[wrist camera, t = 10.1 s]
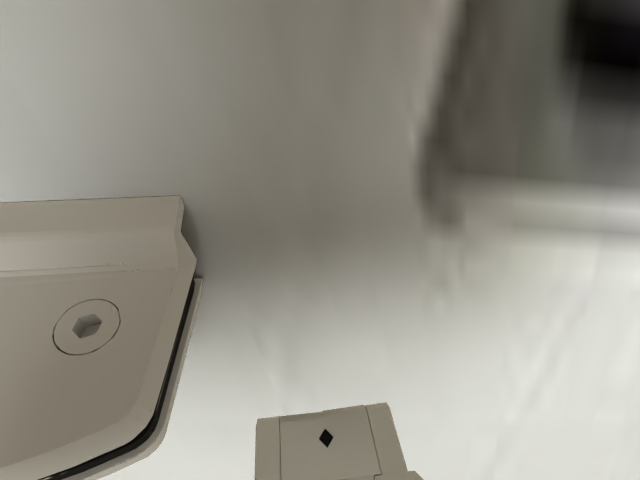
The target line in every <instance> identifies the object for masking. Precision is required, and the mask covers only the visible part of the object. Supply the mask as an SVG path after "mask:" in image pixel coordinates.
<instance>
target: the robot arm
mask: <svg viewBox="0 0 640 480" xmlns="http://www.w3.org/2000/svg"><path fill="white" fill-rule="evenodd" d="M255 480H423V479H422V478H421V477H420V476H419V475H418V474H417V473H416V472H415V471H408V470H407V467H406V463H405V460H404V456H403V453H402V449H401V446H400V443H399V439H398V436H397V432H396V429H395V425H394V422H393V418H392V415H391V411H390V408H389V406H388V404H387V403H386V402H385V403H378V404H371V405H365V406H364V405H359V406H352V407H345V408H339V409H332V410H325V411H322V412H315V413H305V414H296V415H287V416H277V417H269V418H261V419H257V424H256V446H255Z"/></svg>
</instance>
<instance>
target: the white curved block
mask: <svg viewBox="0 0 640 480" xmlns="http://www.w3.org/2000/svg"><path fill="white" fill-rule="evenodd" d="M183 213H184V204H183V201H182V198H181V196H160V197H135V198H109V199H84V200H58V201H32V202H7V203H0V480H97V479H99V478H102V477H104V476H107V475H109V474H112V473H114V472H116V471H118V470H120V469H122V468H125V467H127V466H129V465H131V464H133V463H135V462H137V461H140V460H142V459H144V458H146V457H148V456H149V455H150V454H151V453H153V452H154V451H155V450H156V449H157V448H158V447H159V445H160V444H161V443H162V441H163V439H164V437H165V434H166V431H167V427H168V423H169V419H170V415H171V411H172V407H173V403H174V399H175V395H176V392H177V388H178V384H179V380H180V376H181V372H182V368H183V364H184V360H185V357H186V353H187V349H188V345H189V341H190V337H191V333H192V329H193V325H194V321H195V318H196V314H197V310H198V306H199V302H200V298H201V293H202V283H203V278H196V279H193V278H192V277H193V274H194V270H195V267H196V263H197V258H196V257H195V255H194V253H193V252H192V250H191V248H190V247H189V245H188V243H187V242H186V240H185V238H184V237H183V235H182V233H181V226H182V219H183Z"/></svg>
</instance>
